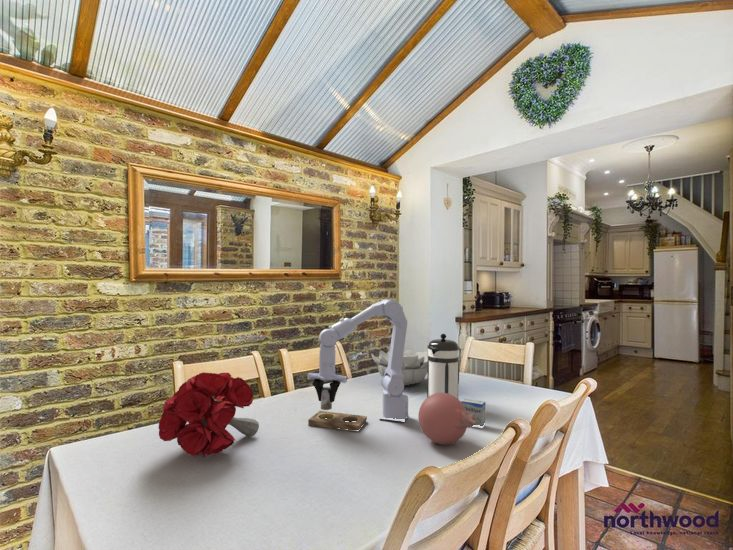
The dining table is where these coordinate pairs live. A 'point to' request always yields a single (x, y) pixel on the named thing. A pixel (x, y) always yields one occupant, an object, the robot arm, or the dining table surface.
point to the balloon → (444, 418)
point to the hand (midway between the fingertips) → (326, 400)
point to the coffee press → (443, 367)
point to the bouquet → (207, 413)
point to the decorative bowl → (406, 365)
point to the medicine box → (475, 410)
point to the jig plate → (337, 420)
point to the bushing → (326, 398)
